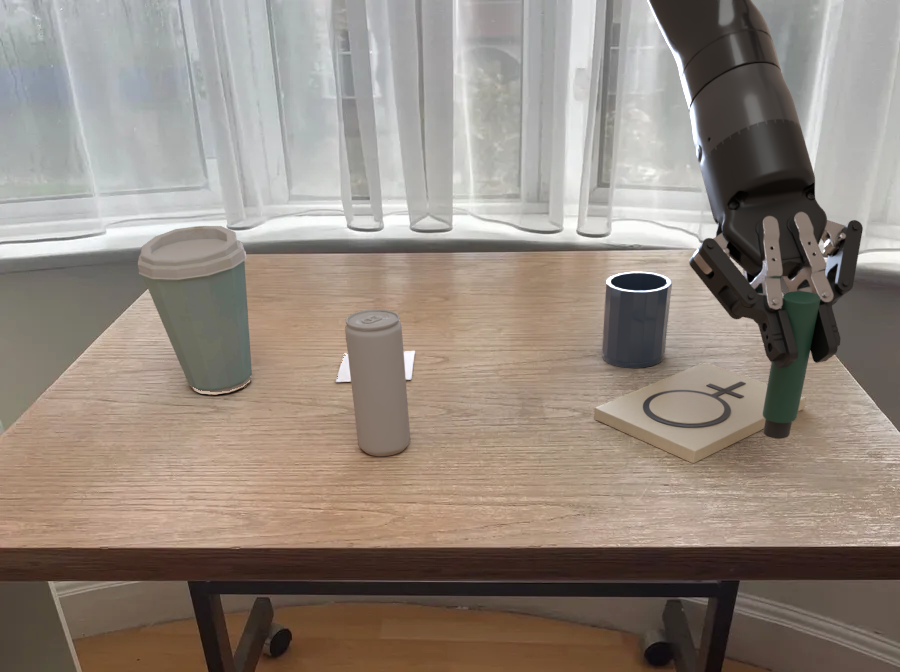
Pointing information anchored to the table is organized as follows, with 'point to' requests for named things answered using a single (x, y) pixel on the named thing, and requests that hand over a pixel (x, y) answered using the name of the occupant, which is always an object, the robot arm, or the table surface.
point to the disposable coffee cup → (202, 302)
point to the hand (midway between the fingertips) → (807, 359)
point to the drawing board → (691, 411)
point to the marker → (790, 366)
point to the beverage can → (378, 381)
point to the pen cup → (635, 319)
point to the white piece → (345, 370)
